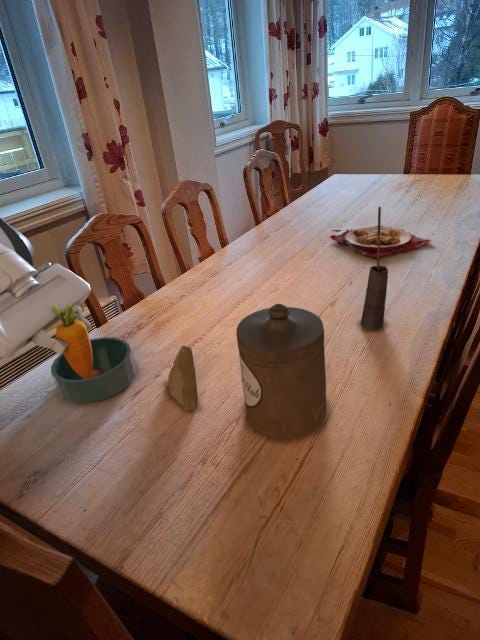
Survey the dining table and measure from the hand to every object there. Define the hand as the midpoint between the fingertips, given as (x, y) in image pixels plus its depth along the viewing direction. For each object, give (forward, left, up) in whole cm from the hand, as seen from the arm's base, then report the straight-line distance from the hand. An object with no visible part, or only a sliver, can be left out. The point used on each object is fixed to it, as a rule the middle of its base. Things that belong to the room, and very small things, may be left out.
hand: (76, 340), depth 71 cm
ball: (0, +16, -18) cm, 24 cm away
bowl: (0, +17, -20) cm, 26 cm away
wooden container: (+31, -12, -20) cm, 39 cm away
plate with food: (+100, +48, -20) cm, 113 cm away
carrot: (0, 0, -9) cm, 9 cm away
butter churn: (+63, +3, -20) cm, 67 cm away
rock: (+15, +2, -20) cm, 26 cm away
